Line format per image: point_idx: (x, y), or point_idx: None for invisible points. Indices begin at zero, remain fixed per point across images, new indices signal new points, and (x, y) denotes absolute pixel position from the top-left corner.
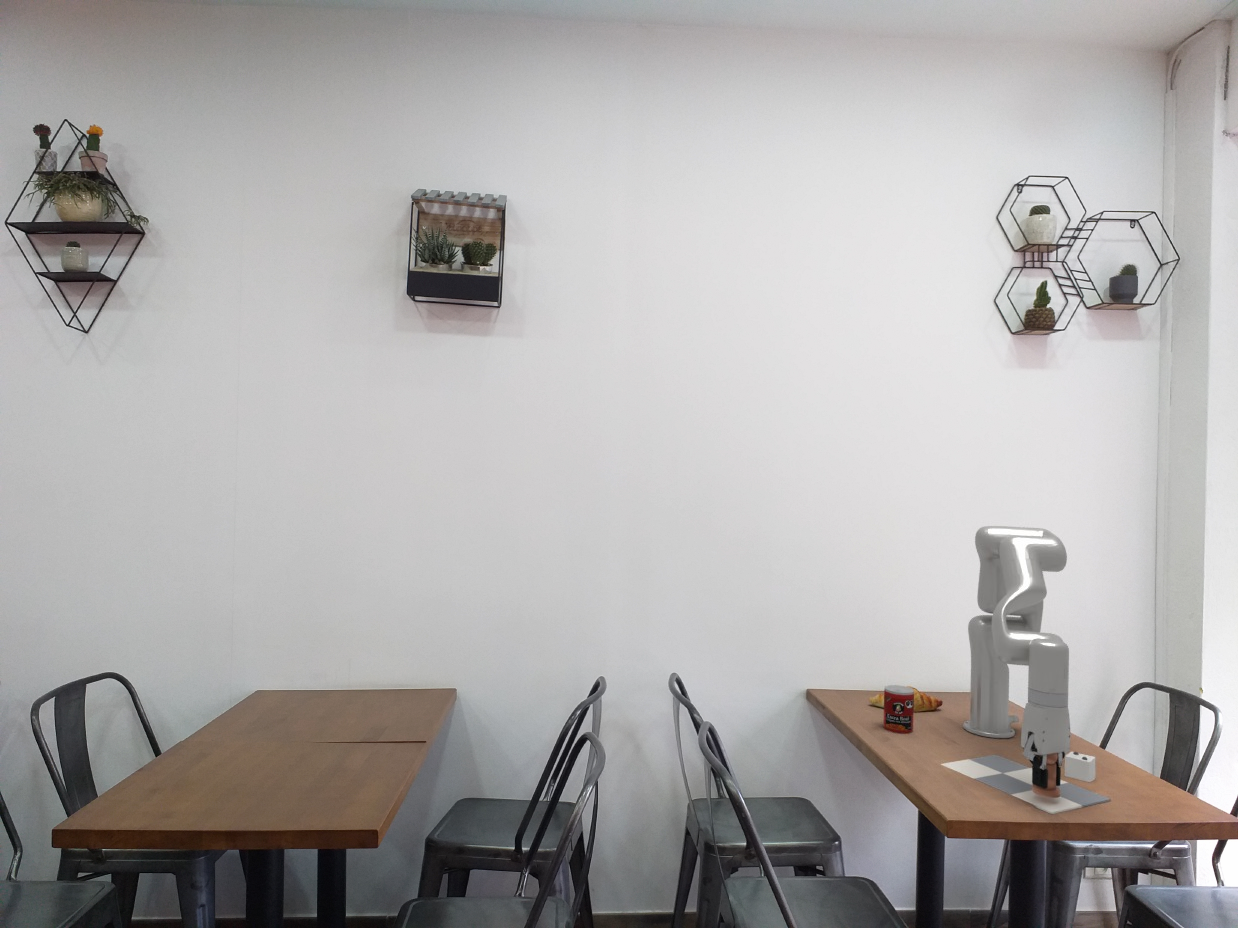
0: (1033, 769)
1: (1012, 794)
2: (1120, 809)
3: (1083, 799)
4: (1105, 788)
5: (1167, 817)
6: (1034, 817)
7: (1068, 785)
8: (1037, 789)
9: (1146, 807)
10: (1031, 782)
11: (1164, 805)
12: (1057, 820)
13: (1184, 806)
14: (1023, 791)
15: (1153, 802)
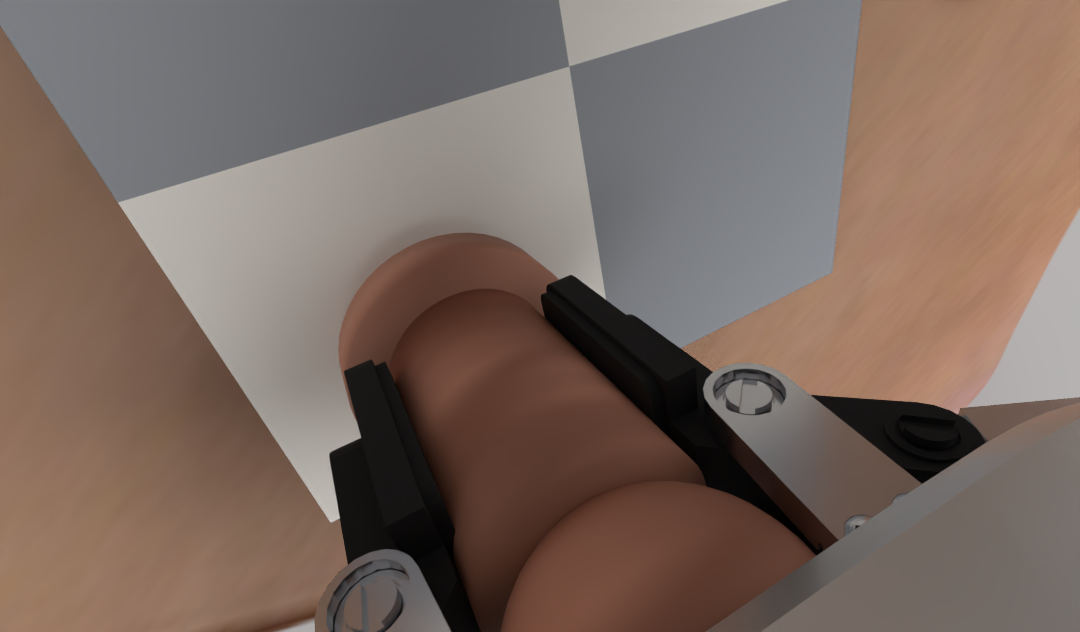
0: (347, 550)
1: (146, 199)
2: None
3: (698, 289)
4: (953, 90)
5: None
6: (137, 598)
7: (816, 33)
8: (352, 410)
9: (875, 334)
10: None
11: (945, 306)
12: (306, 589)
13: (985, 310)
14: (343, 123)
15: (945, 278)
